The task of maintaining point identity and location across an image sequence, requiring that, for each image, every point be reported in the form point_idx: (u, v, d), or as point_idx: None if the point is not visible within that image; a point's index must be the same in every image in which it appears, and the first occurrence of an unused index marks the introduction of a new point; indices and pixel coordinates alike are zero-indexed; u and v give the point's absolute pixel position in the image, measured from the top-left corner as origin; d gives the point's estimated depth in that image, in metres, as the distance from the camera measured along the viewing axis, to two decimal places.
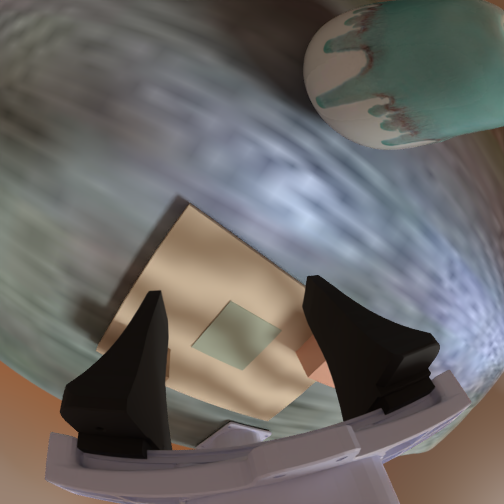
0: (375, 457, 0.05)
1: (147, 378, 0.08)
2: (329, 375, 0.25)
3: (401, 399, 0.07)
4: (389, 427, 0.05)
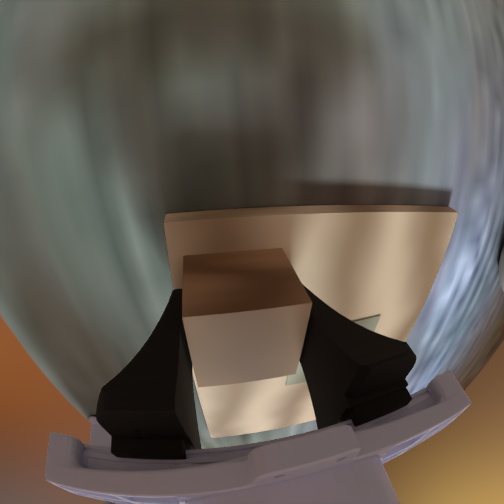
0: (375, 457, 0.05)
1: (183, 377, 0.08)
2: None
3: (372, 411, 0.07)
4: (389, 427, 0.05)
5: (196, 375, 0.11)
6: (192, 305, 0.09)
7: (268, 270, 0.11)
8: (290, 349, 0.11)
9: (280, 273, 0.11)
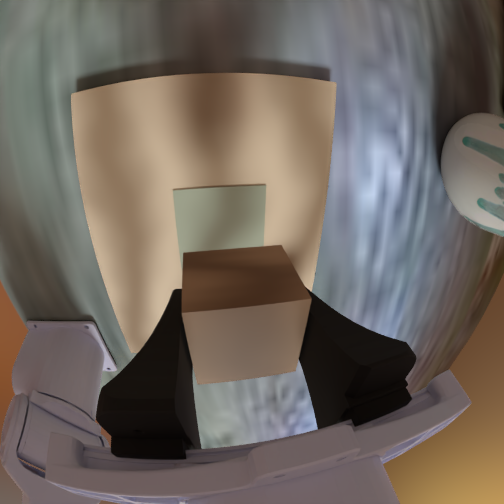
0: (375, 457, 0.05)
1: (183, 377, 0.08)
2: None
3: (372, 411, 0.07)
4: (389, 427, 0.05)
5: (195, 372, 0.11)
6: (192, 301, 0.09)
7: (268, 266, 0.11)
8: (290, 346, 0.11)
9: (279, 270, 0.11)
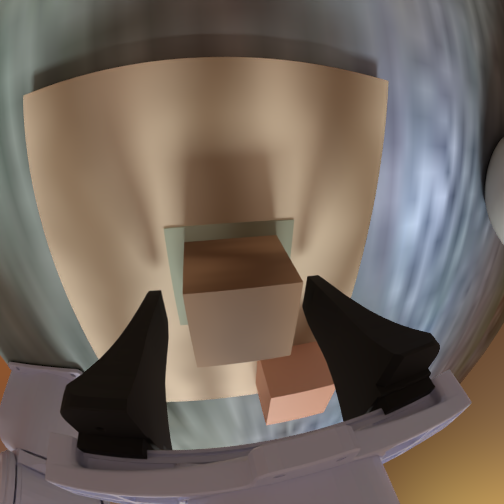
0: (375, 457, 0.05)
1: (147, 378, 0.08)
2: (285, 409, 0.16)
3: (401, 399, 0.07)
4: (389, 427, 0.05)
5: (195, 354, 0.12)
6: (192, 284, 0.10)
7: (263, 254, 0.12)
8: (284, 329, 0.12)
9: (274, 257, 0.12)
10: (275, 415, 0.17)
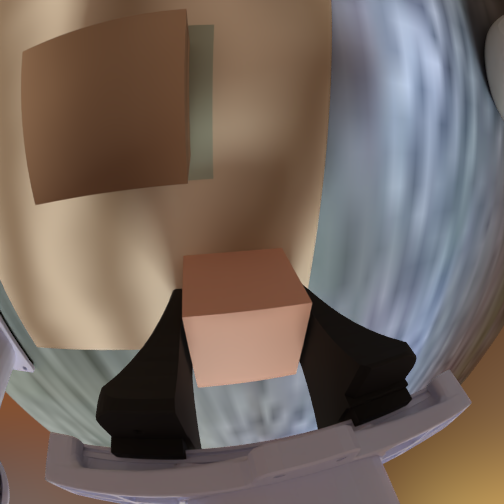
0: (375, 457, 0.05)
1: (183, 377, 0.08)
2: (220, 353, 0.10)
3: (372, 411, 0.07)
4: (389, 427, 0.05)
5: (29, 170, 0.05)
6: None
7: None
8: (162, 104, 0.05)
9: None
10: (206, 366, 0.10)
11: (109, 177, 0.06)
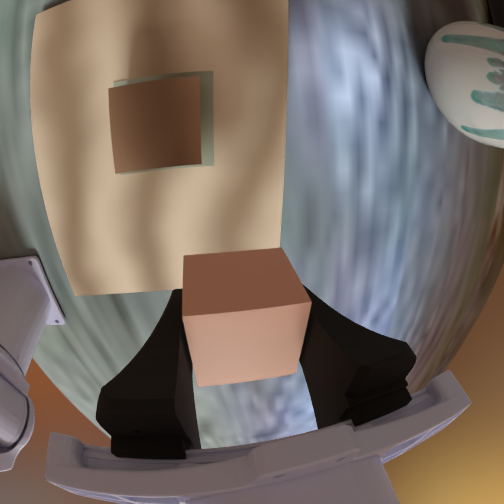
0: (375, 457, 0.05)
1: (183, 377, 0.08)
2: (220, 353, 0.10)
3: (372, 411, 0.07)
4: (389, 427, 0.05)
5: (113, 154, 0.12)
6: None
7: None
8: (189, 125, 0.12)
9: None
10: (206, 365, 0.11)
11: (161, 160, 0.13)
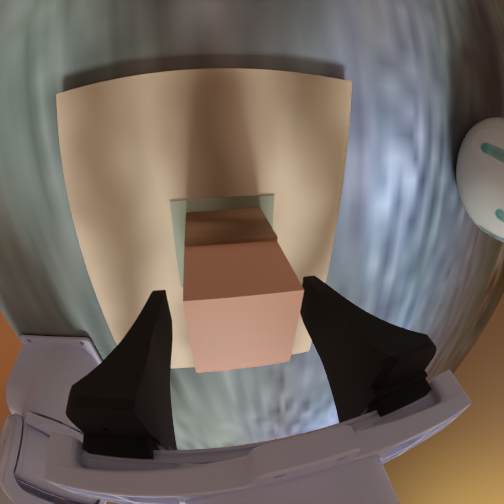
0: (375, 457, 0.05)
1: (153, 378, 0.08)
2: (218, 338, 0.11)
3: (397, 401, 0.07)
4: (389, 427, 0.05)
5: None
6: (191, 238, 0.13)
7: (248, 219, 0.15)
8: None
9: (256, 221, 0.15)
10: (204, 351, 0.11)
11: None
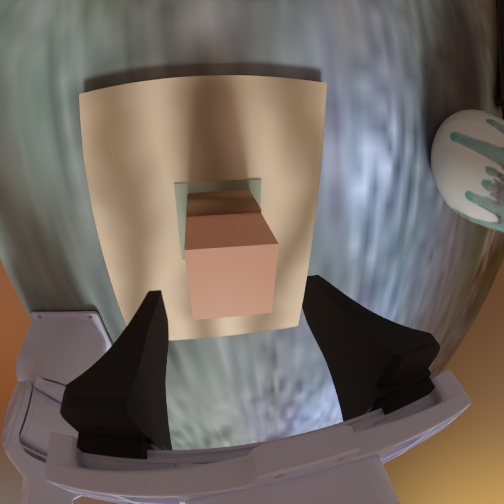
0: (375, 457, 0.05)
1: (147, 378, 0.08)
2: (211, 285, 0.14)
3: (401, 399, 0.07)
4: (389, 427, 0.05)
5: None
6: (192, 210, 0.17)
7: (238, 198, 0.19)
8: None
9: (245, 199, 0.18)
10: (200, 297, 0.14)
11: None
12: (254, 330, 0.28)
